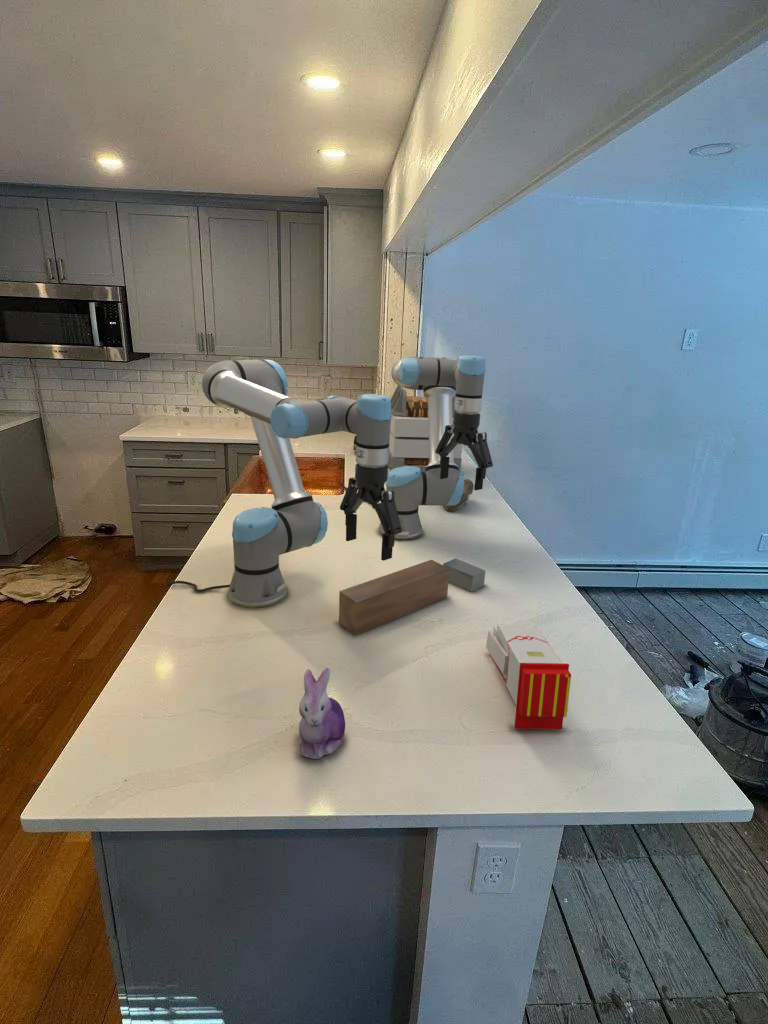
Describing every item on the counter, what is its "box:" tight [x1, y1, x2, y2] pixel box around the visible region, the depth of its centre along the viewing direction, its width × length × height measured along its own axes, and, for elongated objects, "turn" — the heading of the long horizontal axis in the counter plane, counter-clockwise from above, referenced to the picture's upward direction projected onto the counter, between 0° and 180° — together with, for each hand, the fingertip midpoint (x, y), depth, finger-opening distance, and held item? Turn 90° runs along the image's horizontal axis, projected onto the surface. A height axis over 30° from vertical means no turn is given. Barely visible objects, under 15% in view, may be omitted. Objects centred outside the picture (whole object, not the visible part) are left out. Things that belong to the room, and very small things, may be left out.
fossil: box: [442, 478, 475, 512], centre depth 232 cm, size 22×10×15 cm
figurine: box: [298, 667, 346, 760], centre depth 100 cm, size 9×10×15 cm
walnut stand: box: [338, 559, 450, 636], centre depth 148 cm, size 7×32×9 cm, turn 131°
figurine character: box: [352, 435, 356, 451], centre depth 309 cm, size 7×8×15 cm
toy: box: [485, 623, 572, 730], centre depth 120 cm, size 12×13×30 cm
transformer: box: [386, 385, 463, 473], centre depth 268 cm, size 34×33×41 cm
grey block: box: [442, 558, 486, 593], centre depth 165 cm, size 11×6×5 cm, turn 45°
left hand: (368, 549), depth 137 cm, fingers open, 13 cm apart
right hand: (460, 483), depth 168 cm, fingers open, 13 cm apart
